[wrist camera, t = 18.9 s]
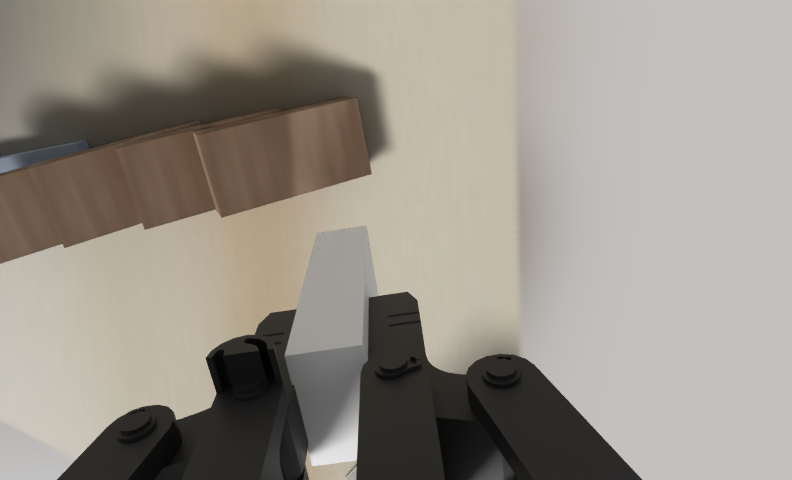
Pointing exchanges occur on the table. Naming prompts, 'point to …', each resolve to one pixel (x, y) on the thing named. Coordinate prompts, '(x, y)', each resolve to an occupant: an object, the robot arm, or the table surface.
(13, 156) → the domino
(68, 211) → the domino
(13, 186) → the domino
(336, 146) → the end domino
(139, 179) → the domino
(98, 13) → the table surface
